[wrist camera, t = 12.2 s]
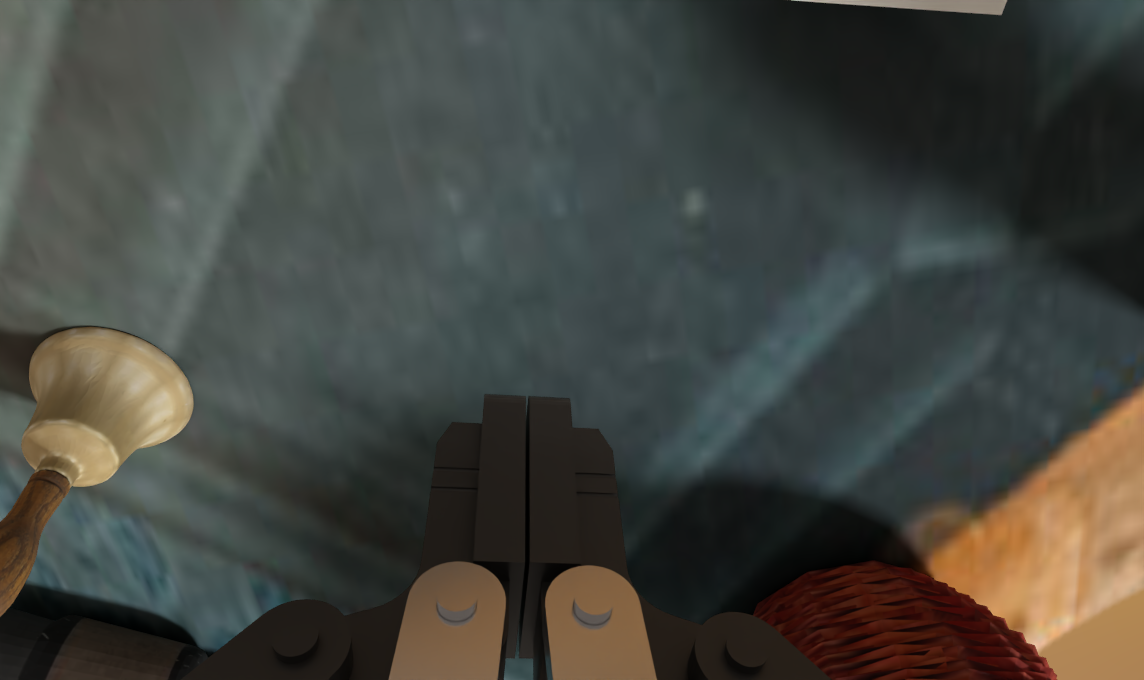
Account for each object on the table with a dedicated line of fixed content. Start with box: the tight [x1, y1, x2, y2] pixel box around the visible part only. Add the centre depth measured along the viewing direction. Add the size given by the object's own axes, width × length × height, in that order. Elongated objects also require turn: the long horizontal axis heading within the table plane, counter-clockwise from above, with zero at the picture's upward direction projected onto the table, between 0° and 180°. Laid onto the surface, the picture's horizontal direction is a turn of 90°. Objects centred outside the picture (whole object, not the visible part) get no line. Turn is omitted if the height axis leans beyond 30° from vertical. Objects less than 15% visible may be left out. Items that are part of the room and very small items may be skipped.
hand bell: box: [0, 327, 194, 617], centre depth 37 cm, size 8×8×16 cm
